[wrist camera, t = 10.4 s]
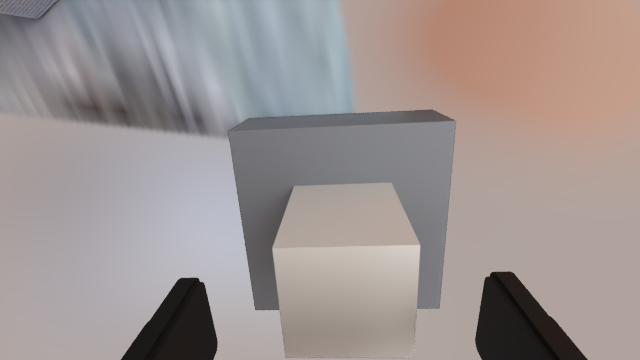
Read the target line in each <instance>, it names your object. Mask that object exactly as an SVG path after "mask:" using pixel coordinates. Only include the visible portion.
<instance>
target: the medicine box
mask: <svg viewBox="0 0 640 360" xmlns="http://www.w3.org/2000/svg"><path fill="white" fill-rule="evenodd" d="M56 1H57V0H0V13H2V14H8V15H14V16H21V17H27V18H35V19H38V18H39V17H40V16H42V15H43V14H44V13H45V12H46V11H47V10H48V9H49V8H50V7H51V6H52V5H53V4H54V3H55V2H56Z"/></svg>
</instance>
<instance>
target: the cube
mask: <svg viewBox="0 0 640 360" xmlns="http://www.w3.org/2000/svg"><path fill="white" fill-rule="evenodd" d="M272 251H273V259H274V267H275V275H276V284H277V292H278V300H279V309H280V317H281V325H282V333H283V342H284V350H285V357H286V358H414V347H415V330H416V312H417V296H418V279H419V262H420V243H419V241H418V239H417V236H416V234H415V232H414V230H413V228H412V226H411V224H410V221H409V219H408V217H407V215H406V213H405V211H404V209H403V206H402V204H401V202H400V200H399V198H398V196H397V194H396V191H395V189H394V187H393V185H392V183H364V184H334V185H305V186H294V187H293V190H292V193H291V196H290V199H289V202H288V205H287V207H286V210H285V213H284V216H283V219H282V222H281V225H280V227H279V230H278V233H277V236H276V239H275V242H274V245H273V247H272Z"/></svg>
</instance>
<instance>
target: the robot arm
mask: <svg viewBox="0 0 640 360" xmlns="http://www.w3.org/2000/svg"><path fill="white" fill-rule="evenodd" d="M475 341H476V347H477V350H478V352H479V355H480V357H481V359H482V360H587V358H586V357H585V356H584V355H583V354H582V353H581V351H580V350H579V349H578V348H577V347H576V345H575V344H574V343H573V342H572V341H571V339H570V338H569V337H568V336H567V335H566V333H565V332H564V331H563V330H562V329H561V327H560V326H559V325H558V324H557V322H556V321H555V320H554V319H553V318H552V317H550V316H549V315H548V314H547V313H546V312H545V311H544V309H543V308H542V307H541V306H540V304H539V303H538V302H537V301H536V300H535V298H534V297H533V296H532V295H531V294H530V292H529V291H528V290H527V289H526V288H525V286H524V285H523V284H522V283H521V281H520V280H519V279H518V278H517V277H516V275H515V274H514V273H512V272H492V273H491V274H490V277H486V278H485V281H484V288H483V294H482V300H481V306H480V313H479V319H478V326H477V332H476V338H475ZM216 351H217V337H216V332H215V329H214V324H213V319H212V315H211V311H210V306H209V302H208V297H207V294H206V289H205V285H204V283H203V282H200V281H199V279H198V278H180V279H179V280H178V281H177V282H176V284H175V285H174V286H173V288H172V289H171V291H170V292H169V294H168V295H167V297H166V298H165V299H164V301H163V302H162V304H161V305H160V307H159V308H158V310H157V311H156V312H155V314H154V315H153V317H152V318H151V320H150V321H149V322H148V323H147V324H146V325H145V326H144V328H143V329H142V330H141V332H140V333H139V335H138V336H137V338H136V339H135V340H134V342H133V343H132V345H131V346H130V347H129V349H128V350H127V352H126V353H125V355H124V356H123V357H122V359H121V360H213V359H214V356H215V354H216Z"/></svg>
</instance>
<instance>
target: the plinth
mask: <svg viewBox="0 0 640 360" xmlns="http://www.w3.org/2000/svg"><path fill="white" fill-rule="evenodd" d="M455 128H456V121H455V120H453V119H451V118H449V117H447V116H444V115H443V114H440V113H438V112H436V111H434V110H415V111H395V112H376V113H375V112H373V113H352V114H331V115H310V116H289V117H268V118H249V119H247V120H245V121H244V122H242V123H241V124H239V125H237V126H236V127H234V128H232V129H231V130H229V131H228V134H229V141H230V147H231V154H232V161H233V167H234V174H235V180H236V187H237V193H238V200H239V206H240V213H241V220H242V226H243V233H244V239H245V246H246V252H247V259H248V265H249V272H250V279H251V284H252V292H253V298H254V305H255V310H280V309H279V300H278V292H277V284H276V275H275V267H274V259H273V251H272V247H273V245H274V242H275V239H276V236H277V233H278V230H279V227H280V225H281V222H282V219H283V216H284V213H285V210H286V207H287V205H288V202H289V199H290V196H291V193H292V190H293V187H294V186H305V185H334V184H364V183H392V185H393V187H394V189H395V191H396V194H397V196H398V198H399V200H400V202H401V204H402V206H403V209H404V211H405V213H406V215H407V217H408V219H409V221H410V224H411V226H412V228H413V230H414V232H415V234H416V236H417V239H418V241H419V243H420V262H419V279H418V296H417V309H423V308H425V309H428V308H429V309H433V308H440V297H441V285H442V275H443V263H444V252H445V241H446V230H447V229H446V228H447V218H448V207H449V196H450V185H451V173H452V162H453V151H454V139H455Z"/></svg>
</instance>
